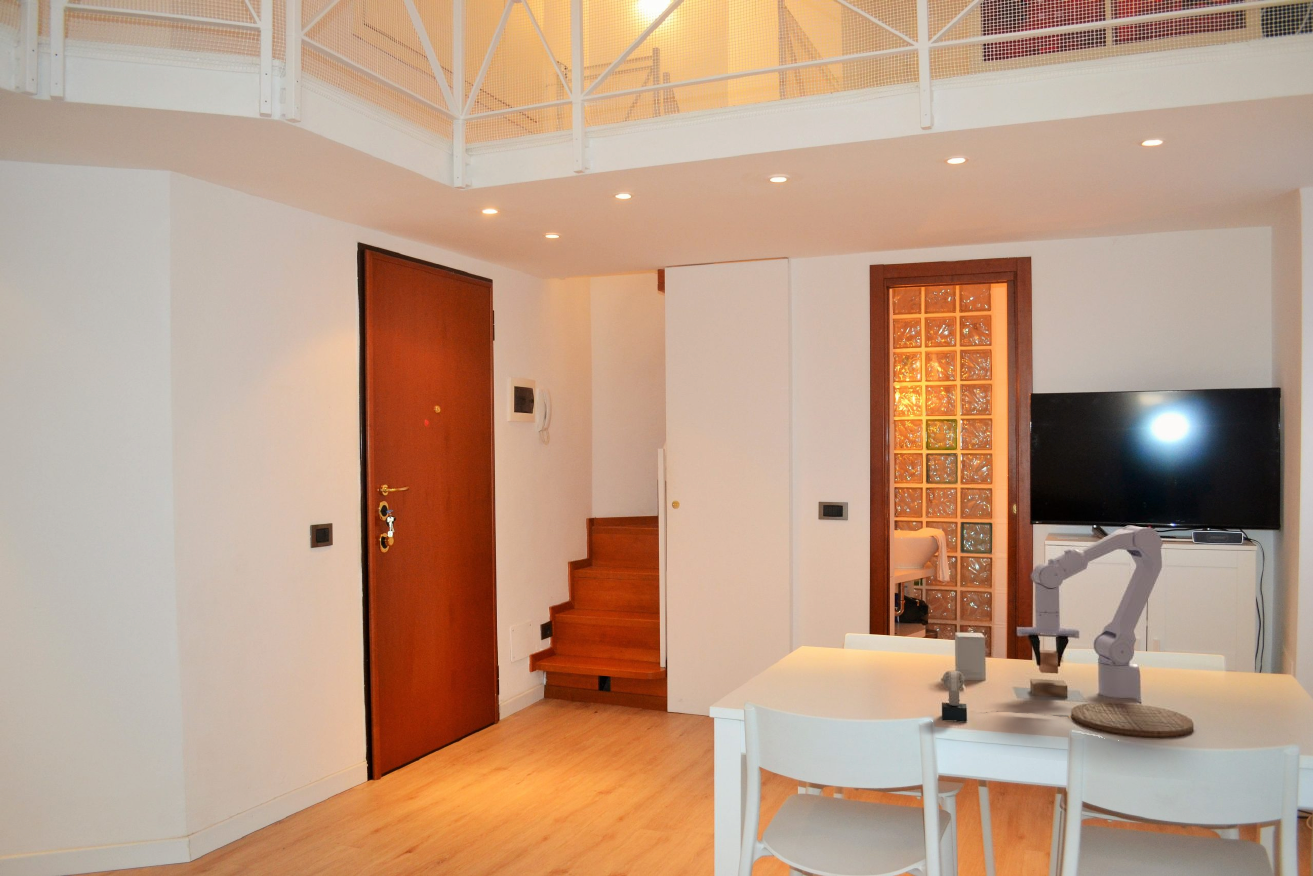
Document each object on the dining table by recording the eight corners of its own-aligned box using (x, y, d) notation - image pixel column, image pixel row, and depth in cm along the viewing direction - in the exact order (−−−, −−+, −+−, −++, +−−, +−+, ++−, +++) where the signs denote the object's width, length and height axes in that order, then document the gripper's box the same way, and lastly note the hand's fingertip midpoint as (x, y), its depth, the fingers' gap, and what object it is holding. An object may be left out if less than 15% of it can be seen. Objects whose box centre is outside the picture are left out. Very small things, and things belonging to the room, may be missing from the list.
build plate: (1078, 694, 246) (1078, 690, 246) (1087, 705, 235) (1087, 701, 235) (1012, 691, 250) (1012, 687, 251) (1017, 702, 239) (1017, 698, 239)
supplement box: (986, 684, 258) (985, 637, 259) (957, 683, 260) (957, 636, 260) (982, 678, 266) (982, 632, 266) (954, 677, 267) (954, 631, 267)
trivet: (1207, 743, 204) (1207, 734, 204) (1080, 735, 211) (1080, 726, 211) (1177, 714, 228) (1177, 706, 228) (1064, 707, 235) (1064, 699, 235)
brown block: (1063, 692, 245) (1063, 680, 245) (1067, 697, 239) (1067, 685, 239) (1030, 690, 247) (1030, 678, 247) (1033, 696, 241) (1033, 684, 241)
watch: (966, 715, 227) (965, 668, 227) (967, 724, 219) (966, 675, 219) (941, 713, 228) (940, 667, 229) (941, 722, 221) (940, 674, 221)
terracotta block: (1055, 670, 244) (1055, 650, 244) (1058, 673, 240) (1057, 653, 240) (1038, 669, 245) (1038, 649, 245) (1041, 672, 241) (1040, 652, 241)
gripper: (1018, 612, 241) (1019, 667, 241) (1080, 615, 238) (1081, 670, 237) (1015, 608, 248) (1016, 661, 248) (1076, 610, 244) (1077, 664, 244)
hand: (1048, 665), depth 243 cm, fingers closed on terracotta block, 4 cm apart
